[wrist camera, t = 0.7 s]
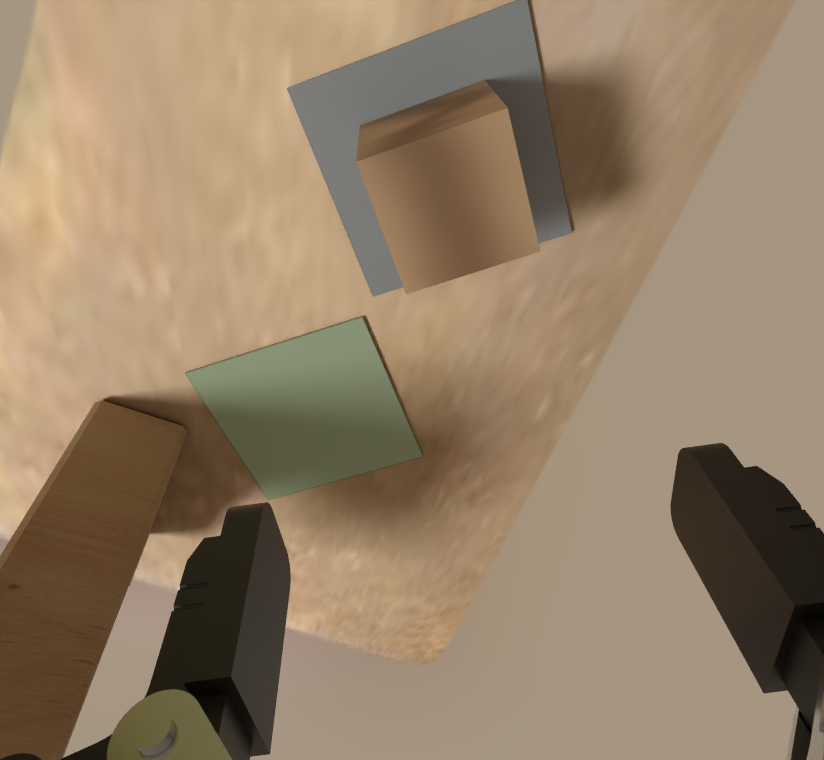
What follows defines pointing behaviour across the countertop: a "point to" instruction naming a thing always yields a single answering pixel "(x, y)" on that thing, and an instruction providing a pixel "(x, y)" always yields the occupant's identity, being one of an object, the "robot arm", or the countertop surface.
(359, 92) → the tile
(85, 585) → the decorative block
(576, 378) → the countertop surface
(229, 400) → the mat
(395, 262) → the walnut block
